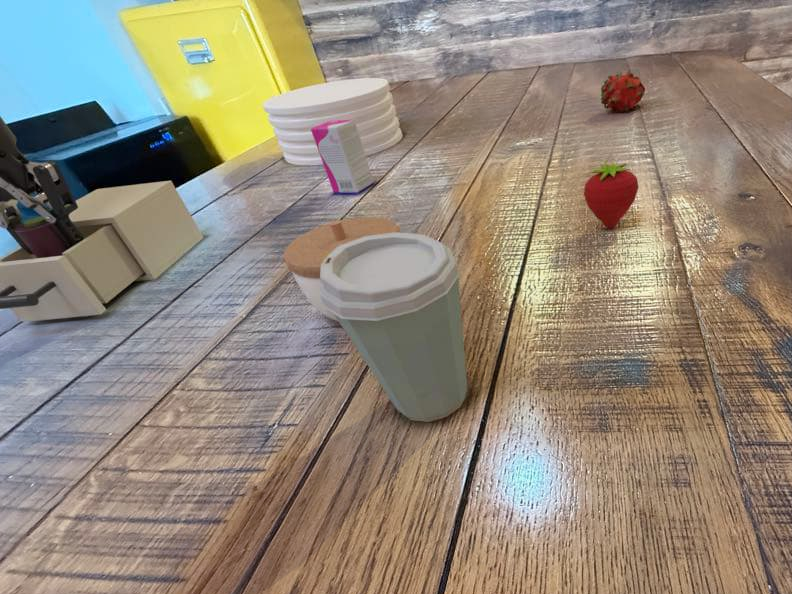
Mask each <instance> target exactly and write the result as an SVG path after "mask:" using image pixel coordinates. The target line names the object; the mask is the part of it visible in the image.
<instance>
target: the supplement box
mask: <svg viewBox="0 0 792 594" xmlns="http://www.w3.org/2000/svg"><path fill="white" fill-rule="evenodd" d="M311 131H312V134H313V137H314V140H315V142H316V145H317V148H318V151H319V153H320V156H321V159H322V162H323V164H324V165H323V167H324V170H325V172H326V175H327V178H328V181H329V183H330V187H331V189H332V192H333V195H338V196H339V195H342V196H352V195H353V196H359V195H361V194H362V193H364V192H365V191H366V190H368V189H369V188H371V187H373V186H374V185H375V180H374V177H373V174H372V171H371V168H370V164H369V162H368V159H367V158H368V157H367V156H366V155H365V152H364V148H363V145H362V142H361V139H360V136H359V132H358V129H357V126H356V123H355V120H338V121H328V122H326V123H324V124H321V125H319V126H316V127H314V128H311Z"/></svg>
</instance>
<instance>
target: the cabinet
mask: <svg viewBox="0 0 792 594" xmlns="http://www.w3.org/2000/svg"><path fill="white" fill-rule="evenodd" d="M75 201H76V203H77V205H78V209H76V210H74V211H73V212H72V213H70V214H69V218H70V220H71V221H72V223H73V224H74V225H75V227H82V226H91V225H100V224H109V223H112V225H113V226H114V228H115V229H116V231H117V232H118V234H119V235H120V236H121V238H122V239H123V241H124V242H125V244H126V245H127V247H128V248H129V250H130V251H131V253H132V254H133V255H134V257H135V258H136V260H137V261H138V263H139V264H140V266H141V267H142V269H143V270H144V273H143V274H142V275H141V276H139V277H138V278H137V279H136V280H134V281H133V282H142V281H152V280H156V279H158V277H160V276H161V275H162V274H164V272H166V271H167V270H168V269H169V268H170V267H172V266H173V265H174V264H175V263H176V262H177V261H179V260H180V259H181V258H182V257H183V256H184V255H185V254H186V253H188V252H189V251H190V250H192V249H193V247H195V246H196V245H197V244H198V243H199V242H200V241H202V240H203V239H204V235H203V234H202V232H201V230H200V228H199V227H198V225H197V224H196V222H195V219H194V218H193V216H192V214H191V213H190V211H189V210H188V208H187V206H186V205H185V202H184V201H183V199H182V197H181V195H180V193H179V192H178V190H177V188H176V186H175V185H174V183H173V181H172V180H164V181H155V182H147V183H137V184H131V185H130V184H129V185H121V186H112V187H104V188H103V187H102V188H97V189H95V190H93V191H91V192H89V193H87V194H86V195H84V196H82V197H80V198H78V199H75Z"/></svg>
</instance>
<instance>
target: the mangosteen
mask: <svg viewBox="0 0 792 594" xmlns="http://www.w3.org/2000/svg"><path fill="white" fill-rule="evenodd" d="M23 222H24V223H23V224H21V225H19V226H18V227H16V228H15V232H16V233H17V234H18V235H19V237H20V238H21V239H22V240H23V241H24V243H25V244H26V245H27V246H28V247H29V249H30V250H31V251H32V252H33V254H34V255H35V256H36V257H37V258H46V257H55V256H64V255H63V254H62V253H63V252H65V251H67V250H68V249H67V247H66V246H65V245H64V243H63V242H62V241H61V240H60V238H59V237H58V236H57V234H56V233H55V232H54V230H53V229H52V228H51V226H50V225H49V224H50V222H48V221H47V220H46V219H44V218H43V217H42V216H41V215H40V216H36V217H33V218H30V219H27V220H25V221H23Z"/></svg>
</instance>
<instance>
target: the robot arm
mask: <svg viewBox="0 0 792 594" xmlns="http://www.w3.org/2000/svg"><path fill="white" fill-rule="evenodd" d="M17 141H18V139H17V137H16V136H15V134H14V133H13V132H12V130H11V129H10V127H9V126H8V125H7V123H6V122H5V121H4V119H3V118H2V116H0V228H2V229H5V230H6V231H7V233H9V234H10V235H11V237H12V239H14V240H15V241H16V243H18V246H19V247H20V246H21V247H22V248H23V249H24V250H25V251H27V252H28V253H29V254H31V255H33V252H32V251H31V250H30V249H29V247H28V246H27V245H26V244H25V243H24V241H23V240H22V239H21V238H20V237H19V235H18V234H17V233H16V232H15V228H16V227H18V226H19V225H21V224H23V223H24V222H25V221H22V220H23V217H22V215H21V212H20V210H19V208H18V203H21V204H22V205H23V206H24V207H25V208H27V209H30V210H34V211H35V212H36V213H37V214H39V215H40V216H42V217H43V218H44V219H46V220H47V221H48V222H50V224H49V225H50V226H51V228H52V229H53V230H54V232H55V233H56V234H57V236H58V237H59V238H60V240H61V241H62V242H63V243H64V245H65V246H66V247H67V249H70V248H71V247H73V246H74V245H76V244H78V243H79V242H81V241H82V240H84V239H83V236H82V235H81V234H80V233H79V231H78V230H77V228H76V227H75V225H74V224H73V223H72V221H71V220H70V218H69V214H70V213H72V212H73V211H74V210H76V209H78V205H77V203H76V199H75V197H74V195H73V193H72V191H71V189H70V187H69V185H68V183H67V180H66V179H65V177H64V174H63V173H62V171H61V169H60V166H59V164H57V162H56V161H54V160H47V161H45V162H35V161H31V160H30V159H29V158H27V156H25V155H24V154H23V153H22V152H21V151H20V150H19V149H18V146H17ZM35 194H36V195H35ZM33 195H35V196H33ZM44 204H45V205H44ZM48 207H49V208H50V209H51V210H50V209H49V208H48Z"/></svg>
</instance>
